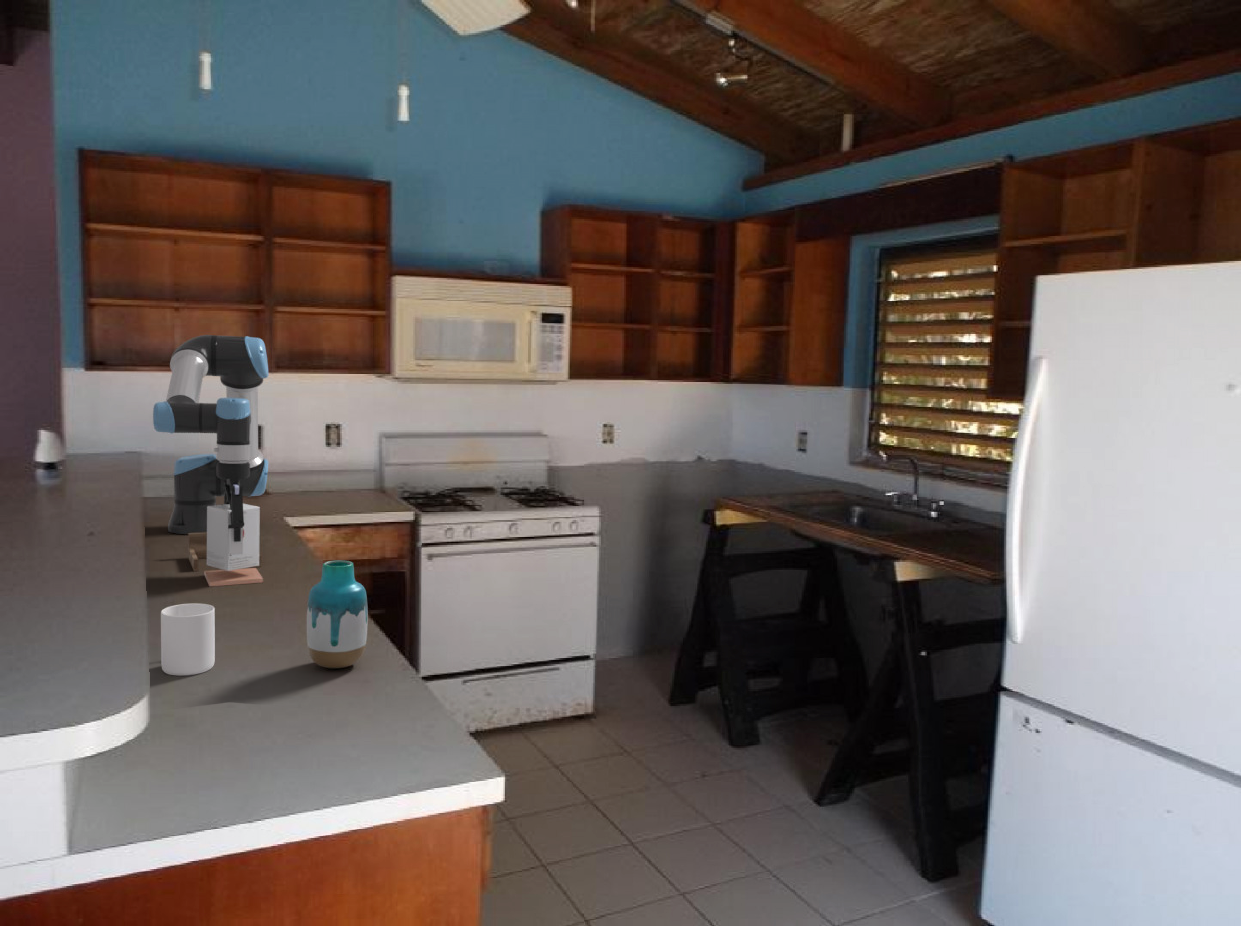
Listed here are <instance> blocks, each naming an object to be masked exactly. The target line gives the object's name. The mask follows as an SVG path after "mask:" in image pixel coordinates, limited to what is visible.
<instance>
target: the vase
mask: <svg viewBox="0 0 1241 926" xmlns="http://www.w3.org/2000/svg"><path fill="white" fill-rule="evenodd" d="M321 569H322V570H321V579H320V581H319V582H318V583H316V584H315V585H313V586H312V587H311V588H310V590H309V594H308V600H307V608H306V640H307V641H306V642H307V643H306V644H307V649H308V650H307V651H308V654H309V657H310V658H311V660H312V661H313V662H314V664H316V665H318V666H320V667H323V668H325V669H326V668H327V669H342V668H347V667H350V666H352V665H355V664H356V663H358V662H359V661H360V659H362V657H363V655H364V654H365V651H366V646H367V639H368V623H369V621H368V618H369V617H368V616H369V615H368V613H369V611H368V609H369V608H368V597H367V591H366V588H365V587H364V585H362V583H360V582H358V581H356V579H355V567H354V562H352V561H349V560H341V559H340V560H339V559H337V560H329V561H325V562H323V563H322V567H321Z"/></svg>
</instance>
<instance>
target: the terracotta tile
mask: <svg viewBox="0 0 1241 926" xmlns="http://www.w3.org/2000/svg"><path fill="white" fill-rule="evenodd" d="M204 577H205V579H206V582H207V584H208V586H209V587H220V586H235V585H245V584H246V585H248V584H259V583H261V584H262V583H264V578H263V576H262V574H261V573H260V572H259V570H258V568H257V567H248V568H242V569H236V570H231V571H226V570H222V569H218V570H204Z"/></svg>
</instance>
